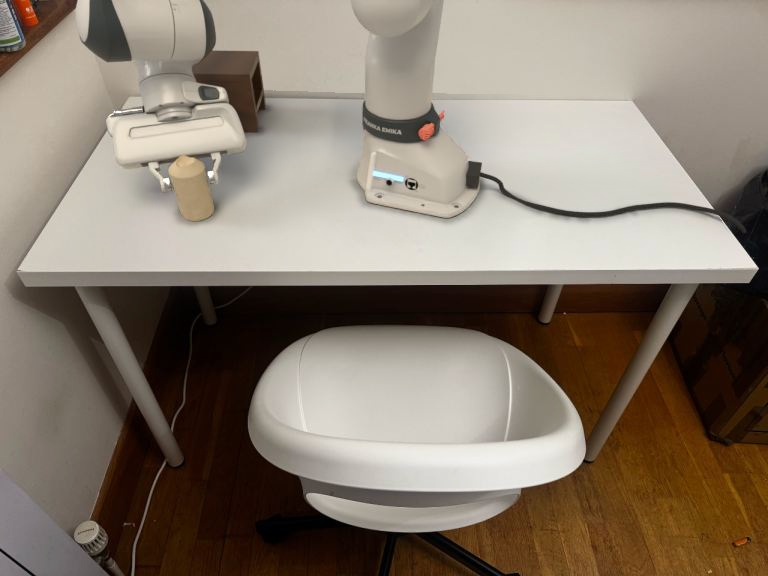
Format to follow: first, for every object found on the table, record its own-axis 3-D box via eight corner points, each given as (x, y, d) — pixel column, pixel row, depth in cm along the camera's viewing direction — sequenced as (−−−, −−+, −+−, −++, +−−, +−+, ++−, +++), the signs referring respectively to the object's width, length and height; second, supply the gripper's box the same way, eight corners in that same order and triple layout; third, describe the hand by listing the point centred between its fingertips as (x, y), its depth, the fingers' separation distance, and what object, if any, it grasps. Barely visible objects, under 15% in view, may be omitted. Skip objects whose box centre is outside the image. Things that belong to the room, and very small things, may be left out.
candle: (178, 206, 96) (163, 155, 89) (210, 198, 98) (198, 147, 91) (184, 224, 93) (169, 172, 86) (218, 216, 94) (205, 165, 87)
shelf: (266, 106, 122) (258, 50, 114) (258, 132, 114) (249, 74, 106) (205, 105, 122) (193, 49, 114) (194, 131, 114) (179, 73, 106)
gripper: (98, 104, 85) (118, 194, 85) (235, 87, 90) (253, 172, 90) (108, 118, 91) (127, 201, 92) (235, 101, 96) (253, 180, 96)
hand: (191, 186), depth 91 cm, fingers open, 6 cm apart
